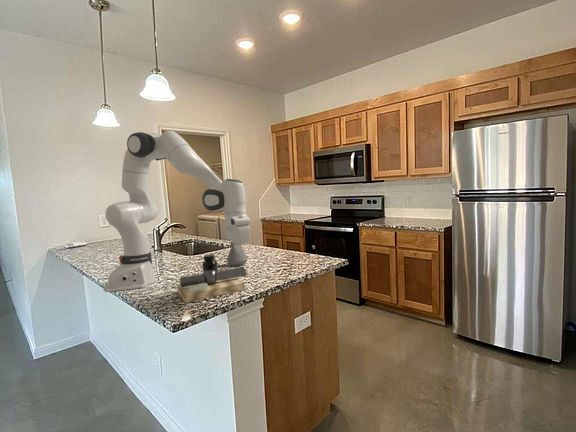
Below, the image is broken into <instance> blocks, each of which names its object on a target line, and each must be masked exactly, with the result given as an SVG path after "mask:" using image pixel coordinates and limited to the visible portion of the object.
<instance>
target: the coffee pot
mask: <svg viewBox="0 0 576 432" xmlns="http://www.w3.org/2000/svg"><path fill="white" fill-rule="evenodd" d="M229 244H230V249H229V253H228V255H227V258H226V263H227V264H229V265H230V266H232V267H242V266H243V265H245V264H246V263H247V261H248V259H249V258H248V256H247V255H246V252H245V250H244V248H243V247H242V246H241V252H240V253H237V252H235V251H234V246H233V241H229Z"/></svg>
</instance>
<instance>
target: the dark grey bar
mask: <svg viewBox="0 0 576 432" xmlns="http://www.w3.org/2000/svg"><path fill="white" fill-rule="evenodd" d="M246 276H247V266H238V267H235V268H228V269H223V270H218V271H215V270H206V271H204V272H203V271H202V273H198V274H194V275H187V276H186V275H185V276H181V277H180V278H179V282H180V284H181V287H186V286H191V285H197V284H202V283H207V284H208V285H212V284H215V283H216V281H219V280H224V279H230V278H235V277H236V278H241V277H246Z"/></svg>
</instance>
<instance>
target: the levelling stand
mask: <svg viewBox="0 0 576 432" xmlns="http://www.w3.org/2000/svg"><path fill="white" fill-rule="evenodd" d="M245 290H246V289H245V282H244V281H242V280H241V279H239V277H235V278H230V279H224V280H219V281H216V283H215V284H212V285H208V284H207V283H202V284H197V285H191V286H186V287H181V284H179V283H178V284H177V292H178V294H179V295H180V298H181V299H182V300H183V302H184V303H190V302H194V301H199V300H203V299H209V298H212V297H218V296H223V295H227V294H232V293H237V292H242V291H245Z"/></svg>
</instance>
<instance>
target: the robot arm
mask: <svg viewBox="0 0 576 432" xmlns="http://www.w3.org/2000/svg"><path fill="white" fill-rule="evenodd" d="M126 141H127V142H126V146H127V147H126V151H125V153H124V157H123V162H122V169H121V170H122V172H121V189H123V191H125V192H126V193H127V194H128V196H129V201H119V202H116V203H113V204H109V205H108V206H107V208H106V210H105V214H104V215H105V219H106V221H107V222H108V224H109V225H111V226H112V227H114V228H115V229H116V230H117V232H118V234H119V235H120V237H121V240H122V248H123V254H124V255H123V254H121V255H119V256H118V260H119V265H118V266H117V267H115V269H113V270H112V271H111V272H110V273H109V276H108V278H107V279H108V280H107V283H106V284H104V285H103V289H102V290H103V292H106V293H113V292H118V291H119V292H120V291H127V289H128V290H133V289H141V288H144V287H146V286H149V285H152V284H154V283H155V282H157V281H158V280H157V277H156V275H155V272H154V268H153V256H152V252H151V248H150V238H149V236H148V234H146V233H145V232H143V231H142V229H141V227H140V224H145V223H146V224H147V223H148V222H151V221H153V220H155V219H156V218H157V217H158V214H159V209H158V206H157V204H156V203H155V202H154V201H153V200H152V197H151V194H150V192H149V181H150V178H149V177H150V164H151V162H152V161H154V160H155V161H162V160H167V161H168V162H169V163H170V165H171V166H172V167H173V168H174V169H175V170H176V171H177V172H179V173H181V174H185V175H187V176H188V175H189V176H192V177H195V178H197V179H199V180H201V181H203V182H204V183H205V184H206V185H207V186H208V187H209V189H206V190H205V191H204V192H203V193H202V197H201V200H202V201H201V202H202V204H203V207H204V209H205V210H207V211H210V212H220V211H221V212H222V211H223V213H224V224H225V238H226V240H229V241H230V242H232V241H233V246H234V251H235V252H237V253H240V252H241V247H242V246H244V245H249V244H250V241H251V230H250V229H251V228H250V225H251V218H250V217H249V216H248V214H247V209H246V202H247V201H246V200H247V199H246V198H247V197H246V189H245V186H244V183H243V181H242V180H240V179H235V178H234V179H233V178H225V179H224V180H223V179H222V178H221V177H220V176H219V175H218V174H217V173H216V172H215V171H214V170H213V169H212V168H211V167H210V166H209V165H208V164H207V163H206V161H204V160H203V159H202V157H200V156H199V155H198V154H197V153H196V151H195V150H194V149H193V148H192V147H191V145H190V144H189V143H188V142H187V141H186V140H185V139H184V138H183V137H182V136H181V135H180V134H178V133H177V132H176V131H174V130H173V131H172V130H168V131H167V130H166V131H164V132H163V133H162V134H157V133H153V132H152V133H150V132H149V133H148V132H143V131H140V132H134V133H132V134H130V135H129V136H128V138H127V140H126Z"/></svg>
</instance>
